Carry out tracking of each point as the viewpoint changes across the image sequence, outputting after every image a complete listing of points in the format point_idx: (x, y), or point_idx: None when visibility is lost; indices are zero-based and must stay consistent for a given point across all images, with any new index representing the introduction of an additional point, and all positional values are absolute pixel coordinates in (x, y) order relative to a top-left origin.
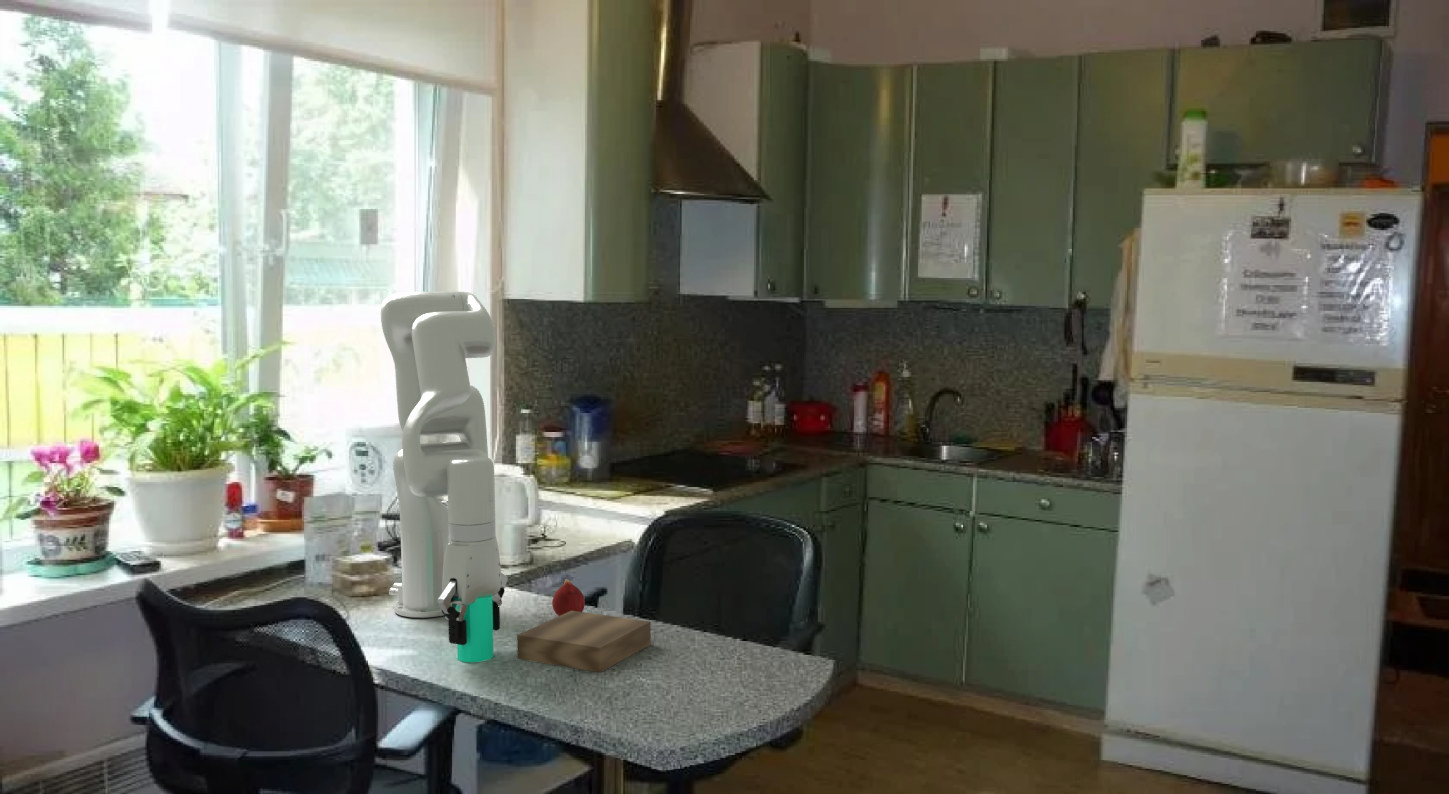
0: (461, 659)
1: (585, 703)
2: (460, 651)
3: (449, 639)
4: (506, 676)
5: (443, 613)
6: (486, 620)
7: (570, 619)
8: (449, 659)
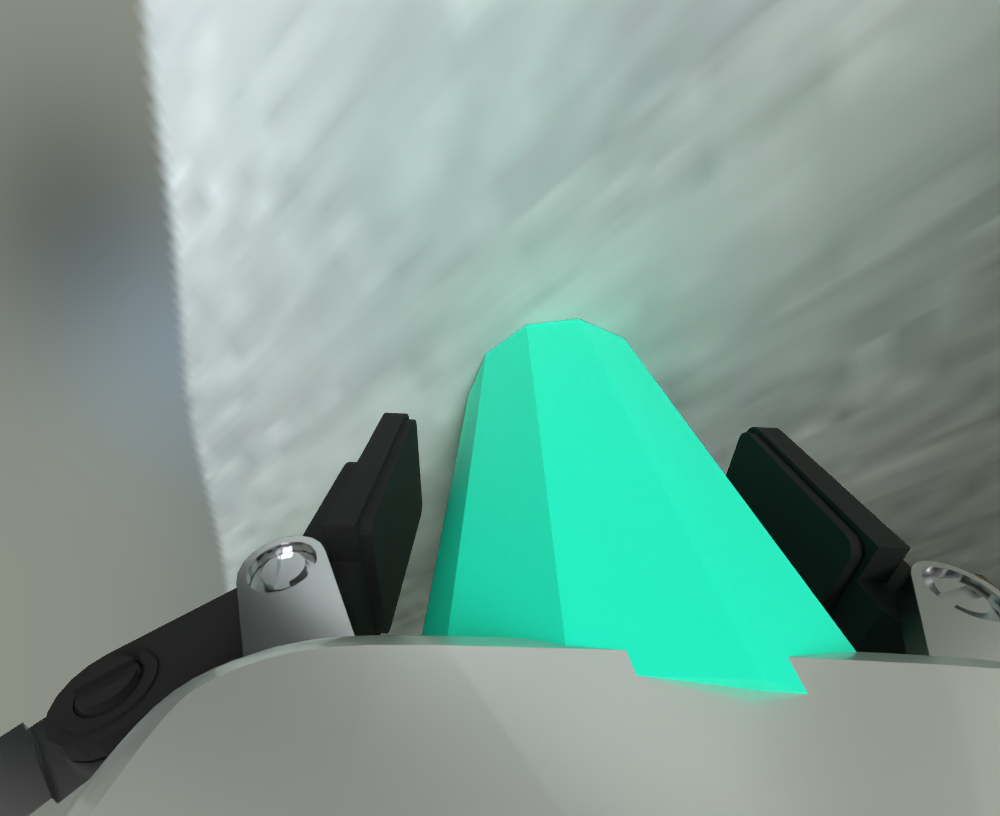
0: (471, 391)
1: None
2: (471, 402)
3: (382, 422)
4: (407, 608)
5: (127, 650)
6: None
7: None
8: (470, 312)
